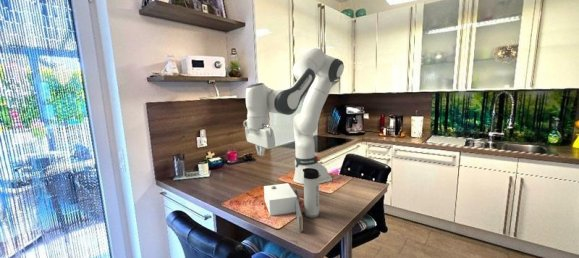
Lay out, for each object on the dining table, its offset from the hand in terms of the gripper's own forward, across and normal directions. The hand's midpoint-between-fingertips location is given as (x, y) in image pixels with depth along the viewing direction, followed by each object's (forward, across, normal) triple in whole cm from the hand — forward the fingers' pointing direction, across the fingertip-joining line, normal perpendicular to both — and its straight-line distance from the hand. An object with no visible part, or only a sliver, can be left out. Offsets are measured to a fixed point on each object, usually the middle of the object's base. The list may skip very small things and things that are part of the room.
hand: (261, 155), depth 105 cm
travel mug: (+26, -15, -14) cm, 33 cm away
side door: (+25, -16, -6) cm, 31 cm away
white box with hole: (+26, 0, -8) cm, 27 cm away
